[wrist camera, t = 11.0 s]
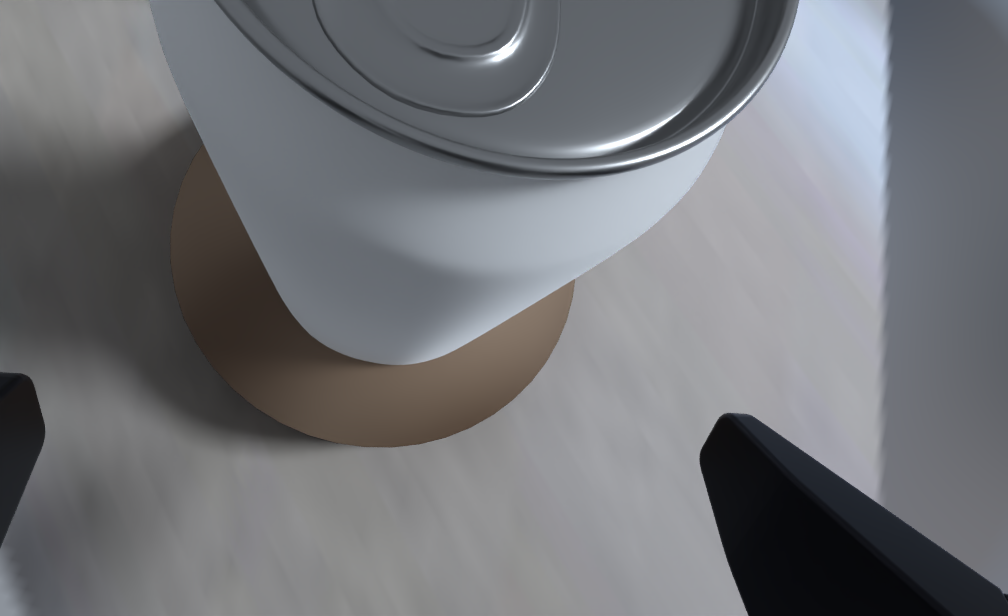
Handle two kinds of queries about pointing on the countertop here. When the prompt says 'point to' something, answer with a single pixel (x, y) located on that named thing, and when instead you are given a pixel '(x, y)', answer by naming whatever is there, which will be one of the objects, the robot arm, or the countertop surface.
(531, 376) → the walnut stand
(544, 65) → the can
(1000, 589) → the robot arm
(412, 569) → the countertop surface
